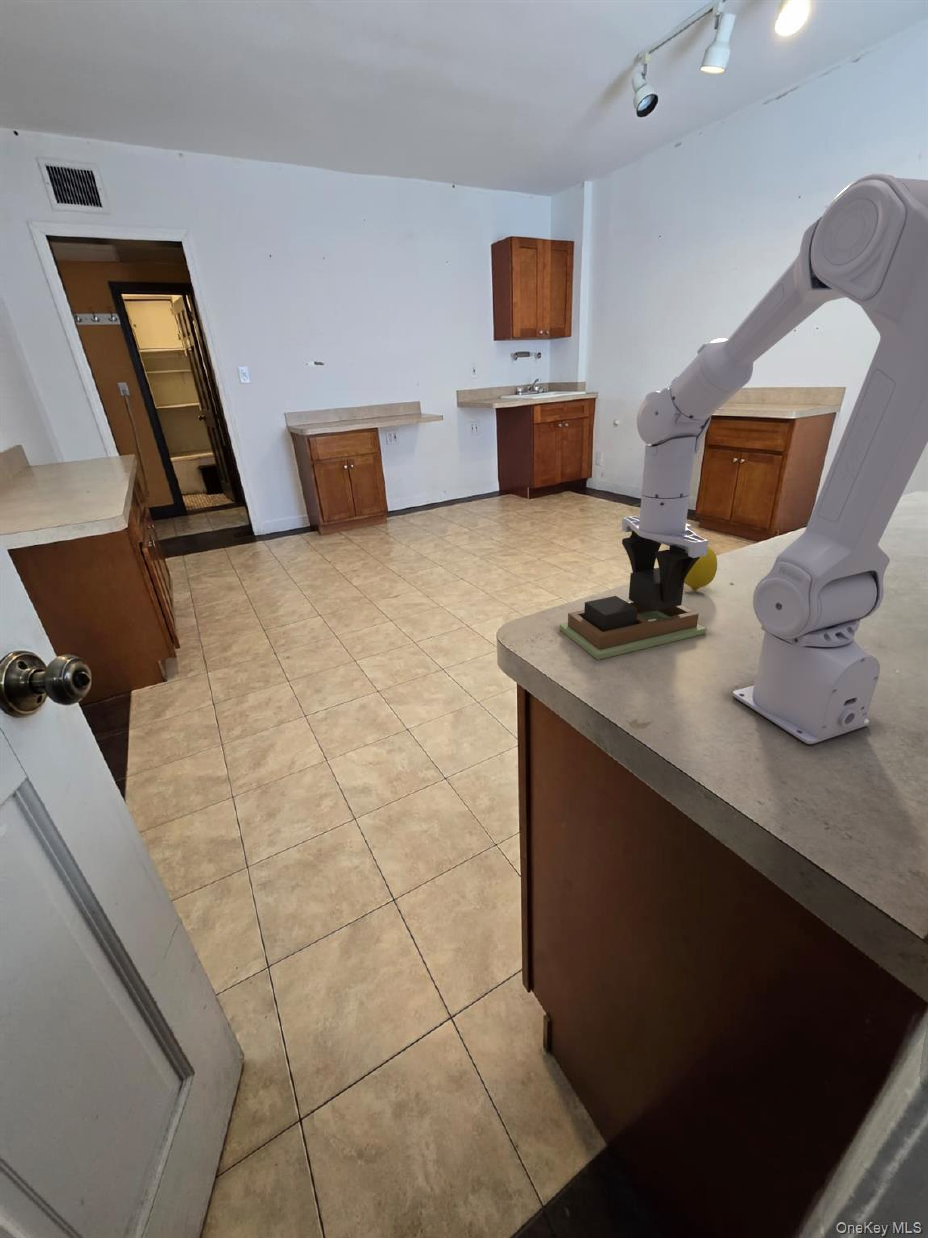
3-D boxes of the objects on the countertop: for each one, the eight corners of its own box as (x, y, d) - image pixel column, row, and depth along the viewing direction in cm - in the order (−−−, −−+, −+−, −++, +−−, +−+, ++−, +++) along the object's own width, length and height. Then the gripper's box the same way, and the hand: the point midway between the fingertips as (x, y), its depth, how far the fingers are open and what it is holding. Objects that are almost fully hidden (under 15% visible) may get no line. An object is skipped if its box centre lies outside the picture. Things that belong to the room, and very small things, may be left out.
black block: (681, 605, 70) (685, 577, 68) (650, 612, 69) (653, 584, 67) (657, 593, 74) (660, 566, 73) (628, 599, 73) (630, 572, 71)
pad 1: (635, 635, 69) (637, 608, 67) (603, 642, 68) (604, 615, 66) (614, 621, 73) (615, 595, 72) (583, 628, 72) (584, 601, 70)
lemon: (717, 596, 81) (724, 548, 77) (679, 596, 82) (685, 548, 79) (709, 584, 86) (716, 537, 82) (674, 583, 87) (679, 538, 83)
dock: (706, 633, 70) (708, 614, 69) (597, 660, 65) (598, 640, 64) (658, 607, 79) (659, 590, 77) (559, 629, 74) (559, 611, 73)
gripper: (735, 499, 60) (718, 606, 66) (654, 481, 72) (646, 572, 78) (685, 507, 58) (672, 616, 64) (611, 488, 71) (606, 580, 76)
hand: (655, 593), depth 71 cm, fingers closed on black block, 5 cm apart
